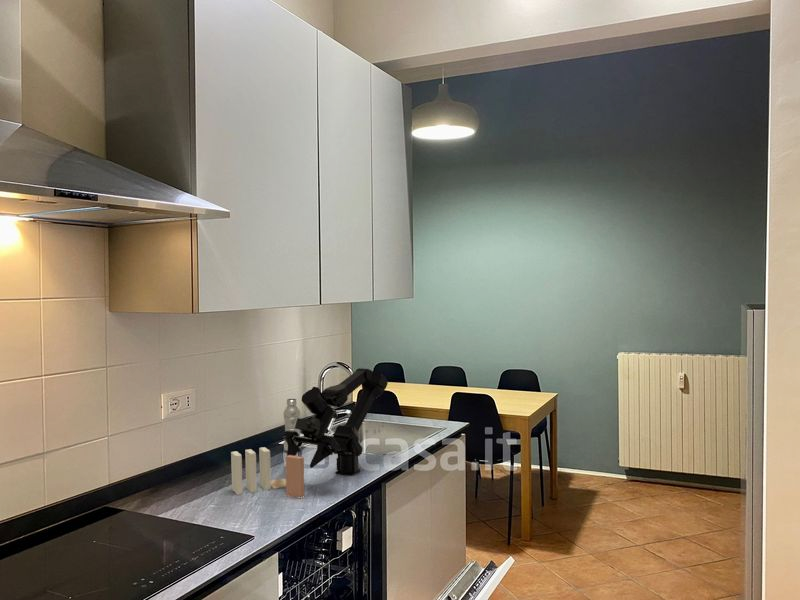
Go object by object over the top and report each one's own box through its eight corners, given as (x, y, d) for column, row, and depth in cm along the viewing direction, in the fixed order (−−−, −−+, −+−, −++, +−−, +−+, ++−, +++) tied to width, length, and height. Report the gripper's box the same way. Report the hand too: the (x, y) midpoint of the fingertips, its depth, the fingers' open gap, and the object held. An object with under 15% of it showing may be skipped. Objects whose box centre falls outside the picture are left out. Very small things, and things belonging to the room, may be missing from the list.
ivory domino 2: (251, 486, 202) (250, 449, 202) (256, 491, 197) (255, 453, 197) (246, 487, 201) (245, 449, 201) (251, 492, 197) (250, 453, 196)
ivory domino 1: (237, 488, 200) (236, 451, 200) (242, 493, 195) (241, 455, 195) (231, 489, 199) (231, 452, 199) (236, 494, 194) (235, 456, 194)
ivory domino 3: (265, 484, 205) (264, 447, 204) (270, 488, 200) (270, 450, 199) (260, 485, 204) (259, 447, 203) (265, 489, 199) (264, 451, 198)
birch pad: (283, 479, 209) (283, 478, 209) (292, 486, 202) (292, 484, 202) (266, 482, 206) (266, 481, 206) (273, 489, 199) (273, 488, 199)
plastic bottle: (280, 452, 242) (279, 400, 241) (289, 448, 248) (288, 397, 248) (295, 454, 240) (294, 401, 239) (304, 449, 246) (303, 398, 245)
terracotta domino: (290, 493, 195) (289, 455, 194) (304, 496, 192) (303, 457, 192) (286, 495, 193) (285, 456, 193) (300, 498, 190) (299, 458, 190)
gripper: (285, 405, 203) (262, 447, 193) (333, 410, 193) (311, 454, 184) (302, 424, 210) (280, 466, 200) (348, 430, 200) (327, 474, 191)
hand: (298, 465), depth 194 cm, fingers open, 9 cm apart
